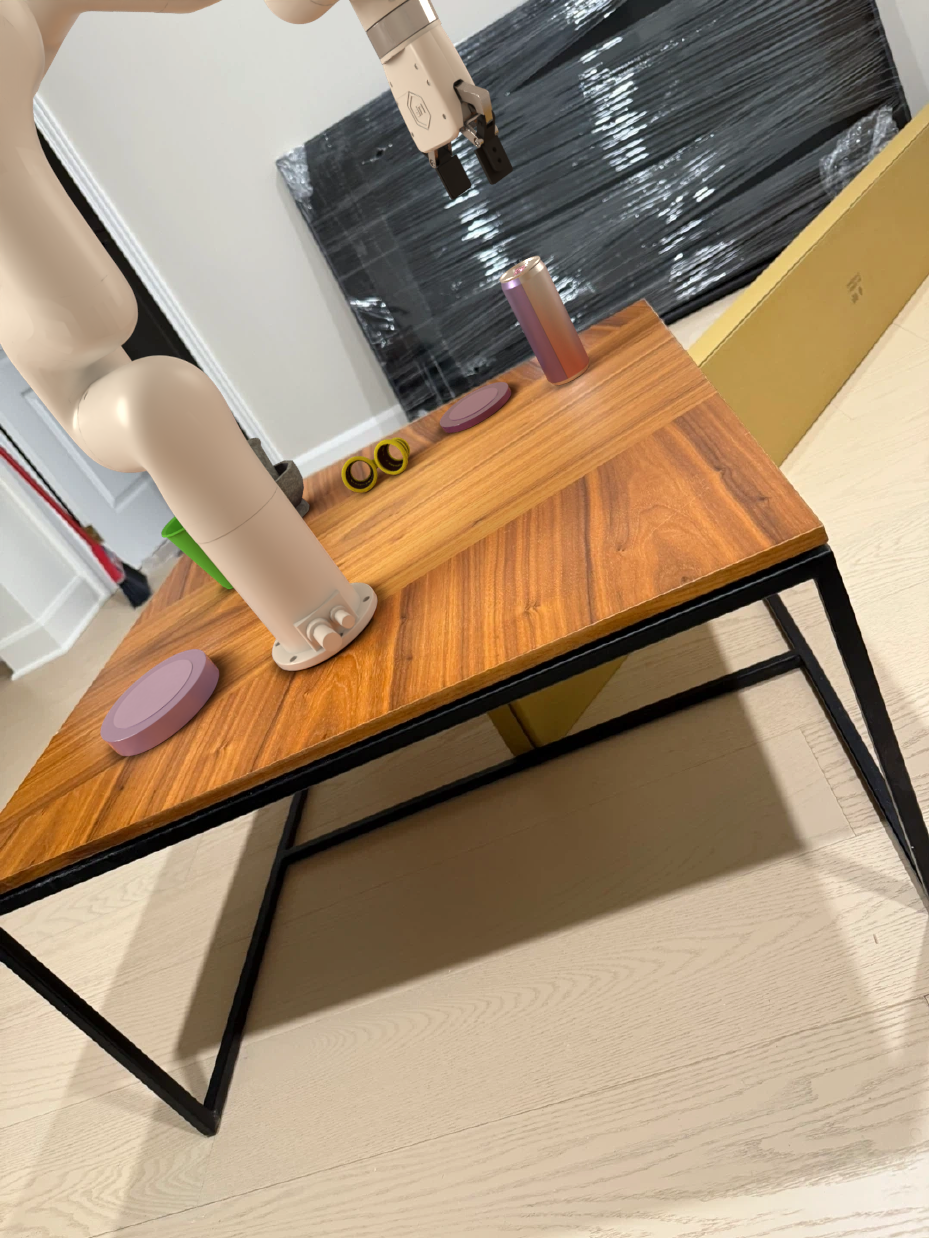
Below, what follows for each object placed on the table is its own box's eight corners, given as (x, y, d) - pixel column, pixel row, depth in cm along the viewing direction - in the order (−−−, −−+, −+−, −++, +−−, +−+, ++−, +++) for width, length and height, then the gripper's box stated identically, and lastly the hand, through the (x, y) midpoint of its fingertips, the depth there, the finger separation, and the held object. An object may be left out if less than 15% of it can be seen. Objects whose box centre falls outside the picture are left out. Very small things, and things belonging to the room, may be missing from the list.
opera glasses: (418, 459, 118) (400, 427, 116) (414, 466, 113) (395, 434, 111) (359, 490, 120) (341, 460, 118) (353, 500, 115) (334, 468, 113)
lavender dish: (232, 685, 89) (218, 669, 88) (124, 775, 86) (108, 759, 85) (204, 650, 101) (190, 635, 100) (107, 728, 98) (93, 713, 97)
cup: (253, 586, 109) (200, 520, 104) (203, 607, 113) (149, 544, 108) (277, 548, 116) (228, 484, 111) (229, 568, 120) (179, 508, 115)
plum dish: (525, 388, 115) (521, 381, 114) (466, 435, 112) (462, 429, 112) (486, 387, 124) (483, 381, 124) (430, 430, 122) (427, 424, 121)
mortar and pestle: (316, 515, 118) (265, 445, 113) (261, 546, 120) (209, 479, 114) (321, 486, 128) (275, 420, 122) (270, 515, 130) (222, 451, 124)
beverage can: (548, 392, 109) (495, 286, 102) (551, 375, 114) (500, 272, 106) (590, 373, 106) (539, 263, 99) (592, 356, 111) (542, 250, 104)
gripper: (349, 72, 96) (426, 215, 105) (411, 19, 82) (494, 190, 90) (398, 40, 98) (470, 183, 106) (468, -18, 83) (544, 153, 91)
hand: (481, 186), depth 98 cm, fingers open, 9 cm apart
